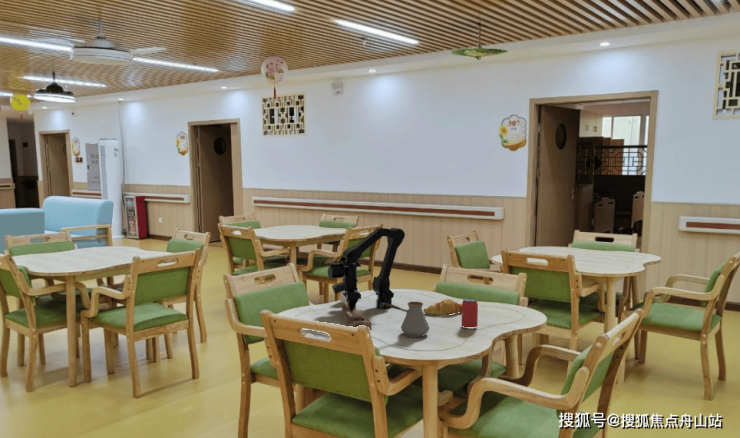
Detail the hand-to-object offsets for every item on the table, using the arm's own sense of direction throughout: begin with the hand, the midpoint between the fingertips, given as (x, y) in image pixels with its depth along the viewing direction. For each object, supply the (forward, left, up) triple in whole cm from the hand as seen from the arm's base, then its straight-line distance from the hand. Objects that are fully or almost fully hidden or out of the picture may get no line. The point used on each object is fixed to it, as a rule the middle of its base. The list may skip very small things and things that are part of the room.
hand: (350, 310), depth 258 cm
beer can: (-45, +32, -2) cm, 55 cm away
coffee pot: (-15, +37, -2) cm, 40 cm away
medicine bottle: (-3, -18, -2) cm, 18 cm away
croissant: (-43, +8, -2) cm, 44 cm away
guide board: (+1, +15, -2) cm, 15 cm away
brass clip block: (0, 0, -1) cm, 1 cm away
